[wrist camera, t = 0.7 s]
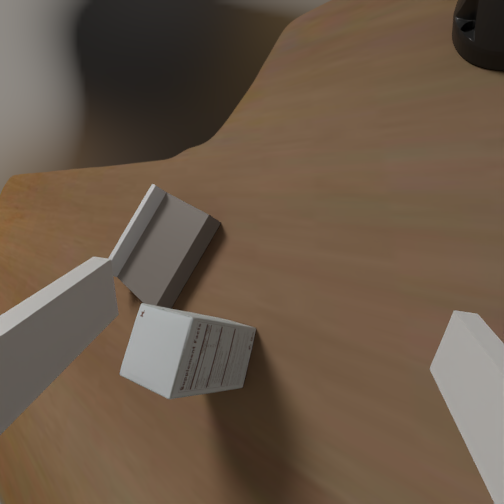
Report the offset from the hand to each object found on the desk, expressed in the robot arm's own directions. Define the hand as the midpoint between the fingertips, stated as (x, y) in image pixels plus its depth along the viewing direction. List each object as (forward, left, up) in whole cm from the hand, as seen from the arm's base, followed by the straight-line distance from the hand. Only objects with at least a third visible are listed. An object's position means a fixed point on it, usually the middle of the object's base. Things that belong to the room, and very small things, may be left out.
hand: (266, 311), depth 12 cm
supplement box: (+10, -14, -23) cm, 29 cm away
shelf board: (+4, -32, -23) cm, 39 cm away
